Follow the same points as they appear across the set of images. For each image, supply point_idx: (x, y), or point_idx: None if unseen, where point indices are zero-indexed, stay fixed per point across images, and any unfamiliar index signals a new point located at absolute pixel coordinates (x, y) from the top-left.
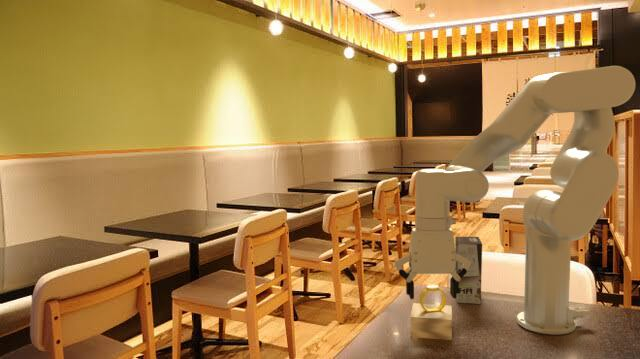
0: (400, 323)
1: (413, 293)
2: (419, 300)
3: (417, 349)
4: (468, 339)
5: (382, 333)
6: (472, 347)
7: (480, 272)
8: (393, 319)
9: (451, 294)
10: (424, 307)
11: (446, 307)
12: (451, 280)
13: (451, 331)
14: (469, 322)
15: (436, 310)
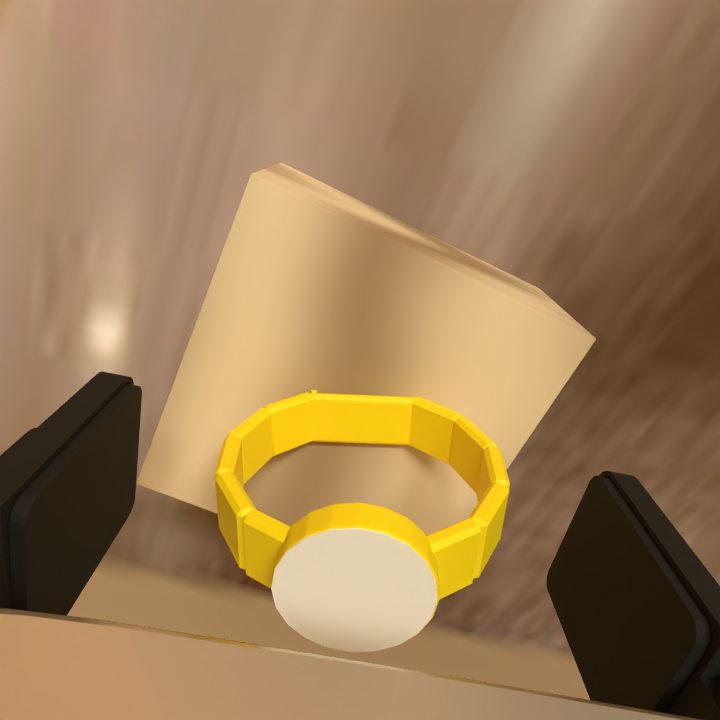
0: (173, 174)
1: (100, 550)
2: (222, 446)
3: (184, 545)
4: (506, 508)
5: (12, 315)
6: (470, 584)
7: None
8: (132, 69)
9: (578, 528)
10: (285, 421)
11: (522, 371)
12: (661, 678)
13: None
14: (684, 290)
15: (386, 443)
